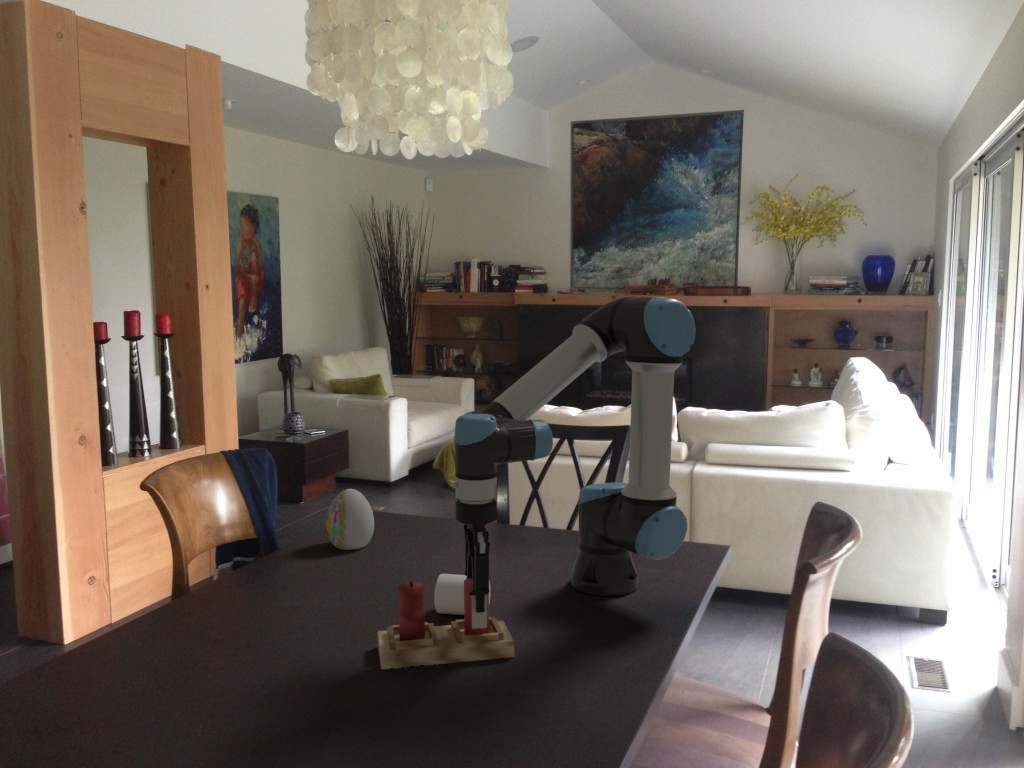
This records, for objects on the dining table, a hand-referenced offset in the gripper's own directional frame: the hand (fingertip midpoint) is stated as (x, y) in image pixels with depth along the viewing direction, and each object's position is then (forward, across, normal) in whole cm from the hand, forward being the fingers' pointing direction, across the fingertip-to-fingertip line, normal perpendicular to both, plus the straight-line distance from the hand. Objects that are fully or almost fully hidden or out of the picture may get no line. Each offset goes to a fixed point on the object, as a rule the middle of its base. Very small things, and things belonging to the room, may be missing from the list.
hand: (476, 622), depth 161 cm
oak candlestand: (+5, 0, -6) cm, 8 cm away
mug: (+5, -20, +1) cm, 21 cm away
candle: (+2, 0, 0) cm, 2 cm away
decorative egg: (+5, -71, -21) cm, 74 cm away
